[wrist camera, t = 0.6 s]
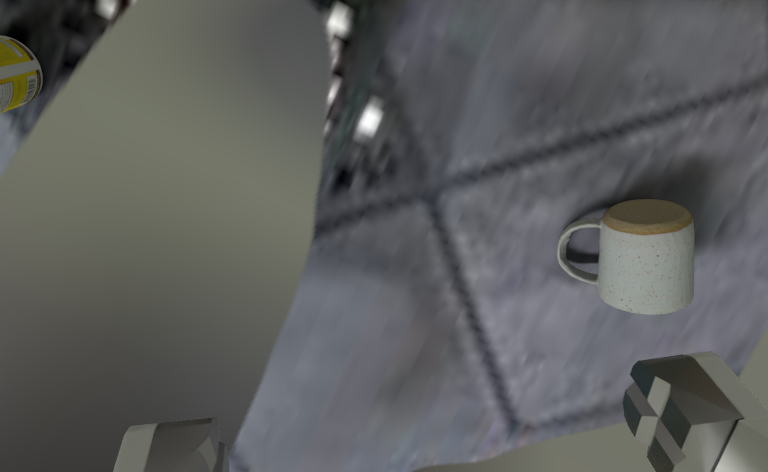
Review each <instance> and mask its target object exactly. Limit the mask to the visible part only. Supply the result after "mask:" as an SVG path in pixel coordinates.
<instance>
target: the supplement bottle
mask: <svg viewBox="0 0 768 472" xmlns="http://www.w3.org/2000/svg"><path fill="white" fill-rule="evenodd" d="M42 83H43V75H42V70H41V67H40V64H39V62H38V60H37V59H36V57H35V56H34V54H33V53H32V52H31V51H30V50H29V49H28V48H27V47H26V46H25V45H24V44H22V43H21V42H19V41H17V40H15V39H13V38H10V37H7V36H2V35H0V113H2V112H4V111H7V110H10V109H13V108H16V107H18V106H21V105H24V104H27V103H29V102H31V101H32V100H33V99H35V98H36V97H37V95H38V94H39V92H40V90H41V88H42Z"/></svg>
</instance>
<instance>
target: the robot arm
mask: <svg viewBox="0 0 768 472" xmlns="http://www.w3.org/2000/svg"><path fill="white" fill-rule="evenodd" d="M630 376H631V377H632V379H633V380H634V381H635V382H634V383H633V384H632V385H631V386H629V387H628V388H627V389H626V390H625V394H624V398H623V402H622V403H623V411H624V417H625V419H626V422H627V424H628V427H629V428H630V430H631V432H632V434H633V435H634V437H635V438H636V439H638V440H639V441H641V442H643V443H644V444H646V445H647V446H648V452H647V458H648V460H649V461H650V463H651V465H652V466H653V468H654V469H655V471H656V472H768V410H767V409H766V408H765V407H764V406H763V404H762V403H761V402H760V401H759V400H758V399H757V398H756V397H755V395H754V394H752V392H751V391H750V390H749V389H748V388H747V387H746V386H745V384H744V383H742V381H741V380H740V379H739V378H738V377H737V376H736V374H735V373H734V372H733V371H732V370H731V369H730V368H729V367H728V366H727V364H726V363H725V362H724V361H723V360H722V359H721V358H720V357H719V356H718V355H717V354H715V353H713V352H711V351H709V352H701V353H694V354H686V355H676V356H669V357H662V358H655V359H648V360H641V361H637V362H636V363H635V364H634V365H633V367H632V370H631V373H630ZM220 430H221V429H220V426H219V423H218V420H217V418H216V417H212V418H201V419H192V420H182V421H173V422H163V423H156V424H148V425H139V426H131V427H130V428H129V429H128V431H127V432H126V433H125V435H124V438H123V441H122V445H121V448H120V451H119V454H118V458H117V461H116V464H115V468H114V471H113V472H229V460H228V453H227V450H226V446H225V444H223V443H221V442H220V441H219V437H220Z"/></svg>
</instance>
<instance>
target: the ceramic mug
mask: <svg viewBox="0 0 768 472" xmlns="http://www.w3.org/2000/svg"><path fill="white" fill-rule="evenodd" d="M587 227H598V228H600V242H599V247H600V251H599V262H598V275H595V274H591V273H587V272H584V271H582V270H579V269H577V268H575V267H574V266H573V265H571V264H570V263H569V262H568V260H567V257H566V248H567V242H568V241H569V240H570V235H571V233H572V232H573V231H575V230H578V229H580V228H587ZM694 240H695V232H694V224H693V219H692V216H691V214H690V212H689V211H688V210H687V209H686V208H684V207H683V206H681V205H679V204H677V203H675V202H671V201H666V200H659V199H636V200H629V201H625V202H621V203H618V204H616V205H614V206H612V207H611V208H609V209H608V210H607V211H606V212H605V213H604V215H603V218H601V219H598V218H587V219H582V220H578V221H576V222H573V223H571V224H570V225H568V226H567V227H566V228H565V229H564V231H563V233H562V234H561V236H560V239H559V242H558V246H557V258H558V262H559V264H560V265H561V267H562V268H563V269H564V270H565V271H566V272H567V273H568V274H569V275H571V276H573V277H574V278H576V279H579V280H581V281H584V282H587V283H591V284H596V285H597V288H598V293H599V296H600V297H601V298H602V299H603V300H604V301H605V302H606V303H608V304H609V305H611V306H613V307H615V308H618V309H621V310H624V311H628V312H632V313H639V314H666V313H671V312H675V311H678V310H681V309H683V308H685V307H686V306H688V305H689V304H690V303H691V301H692V299H693V296H694Z"/></svg>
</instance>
